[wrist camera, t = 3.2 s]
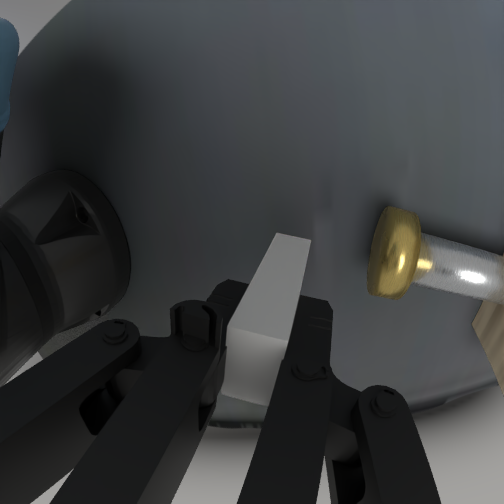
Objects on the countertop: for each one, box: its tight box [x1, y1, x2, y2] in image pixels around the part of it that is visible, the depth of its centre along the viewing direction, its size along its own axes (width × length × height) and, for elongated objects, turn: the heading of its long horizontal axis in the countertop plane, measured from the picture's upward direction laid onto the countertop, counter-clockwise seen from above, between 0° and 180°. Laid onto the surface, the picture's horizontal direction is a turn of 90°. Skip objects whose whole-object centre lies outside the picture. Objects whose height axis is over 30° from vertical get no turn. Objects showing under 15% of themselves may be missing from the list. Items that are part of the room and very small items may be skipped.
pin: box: [367, 206, 504, 305], centre depth 15 cm, size 14×5×5 cm, turn 83°
